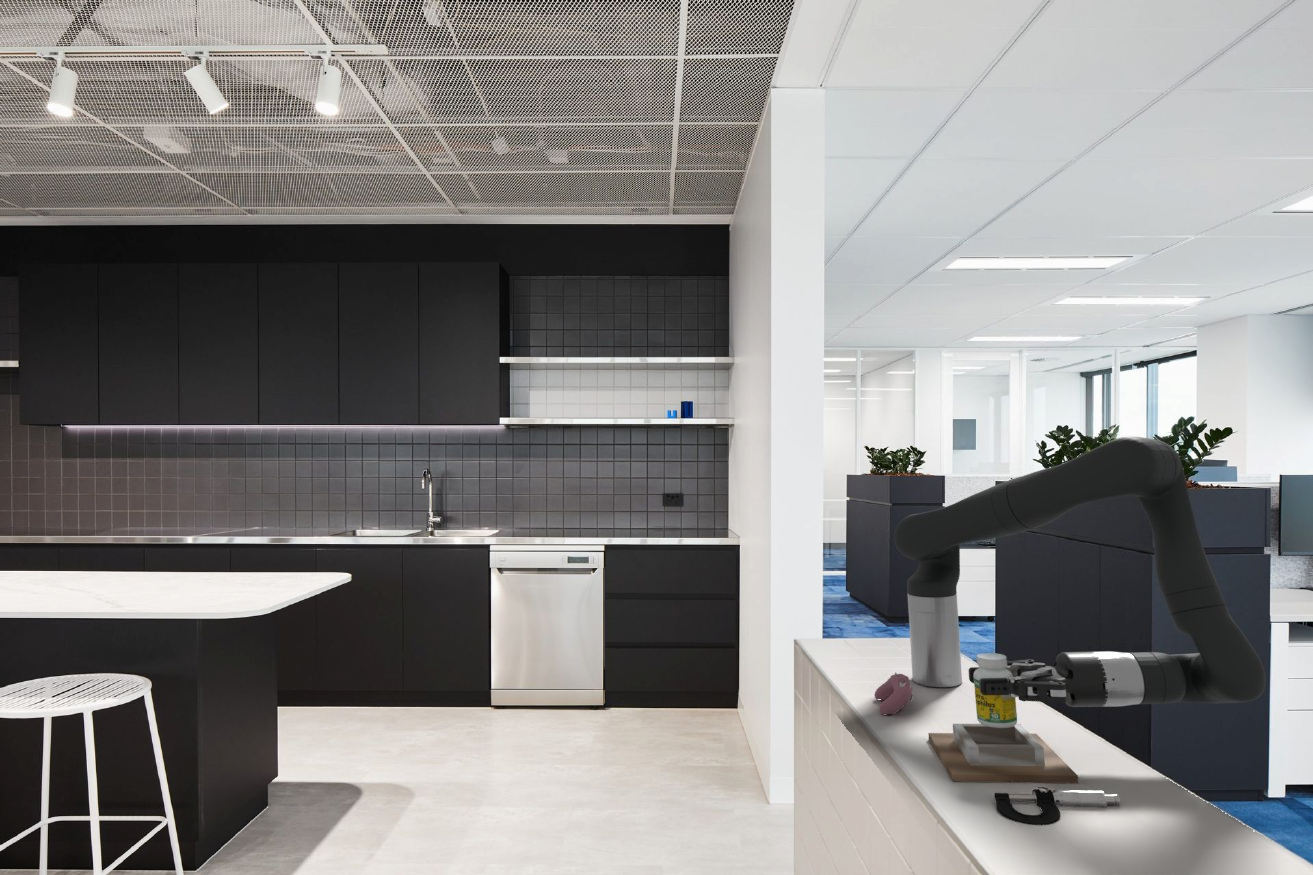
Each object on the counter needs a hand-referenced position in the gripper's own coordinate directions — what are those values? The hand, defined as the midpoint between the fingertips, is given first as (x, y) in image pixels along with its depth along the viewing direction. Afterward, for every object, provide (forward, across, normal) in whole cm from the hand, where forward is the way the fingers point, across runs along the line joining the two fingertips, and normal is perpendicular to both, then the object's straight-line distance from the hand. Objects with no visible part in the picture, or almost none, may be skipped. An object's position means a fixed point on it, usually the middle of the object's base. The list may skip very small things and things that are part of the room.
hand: (975, 680), depth 111 cm
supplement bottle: (-3, 0, +6) cm, 7 cm away
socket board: (-2, 0, +11) cm, 12 cm away
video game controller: (+8, -24, +12) cm, 28 cm away
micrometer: (-5, +16, +12) cm, 21 cm away
